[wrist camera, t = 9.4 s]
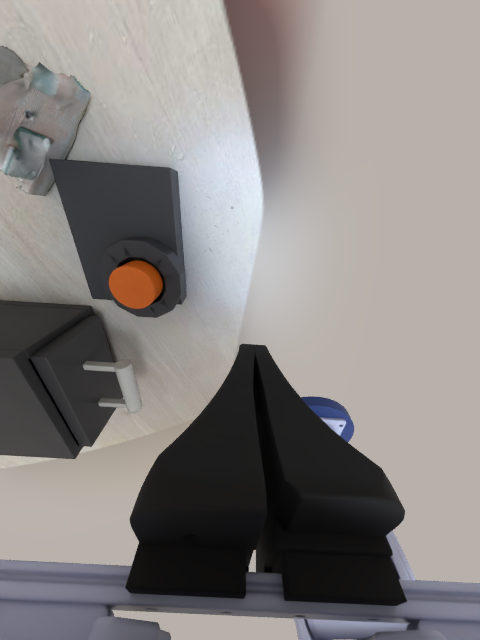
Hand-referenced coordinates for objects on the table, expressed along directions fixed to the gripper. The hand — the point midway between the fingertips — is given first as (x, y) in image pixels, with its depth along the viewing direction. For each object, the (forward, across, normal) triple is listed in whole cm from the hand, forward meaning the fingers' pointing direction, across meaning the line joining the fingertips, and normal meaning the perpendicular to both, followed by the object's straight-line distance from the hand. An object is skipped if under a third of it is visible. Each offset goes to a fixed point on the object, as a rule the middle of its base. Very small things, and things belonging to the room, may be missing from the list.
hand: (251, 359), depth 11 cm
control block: (+10, +10, -4) cm, 15 cm away
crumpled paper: (+10, +15, -11) cm, 21 cm away
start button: (+7, +8, -1) cm, 11 cm away
